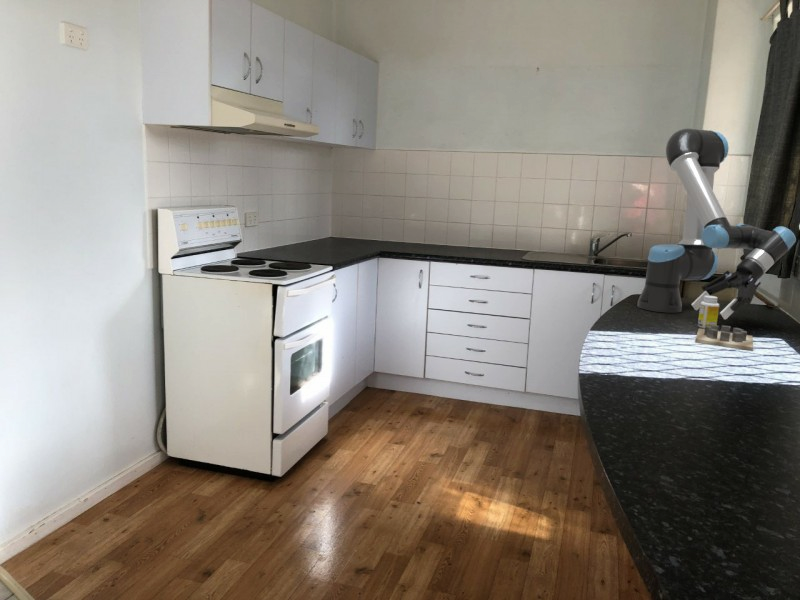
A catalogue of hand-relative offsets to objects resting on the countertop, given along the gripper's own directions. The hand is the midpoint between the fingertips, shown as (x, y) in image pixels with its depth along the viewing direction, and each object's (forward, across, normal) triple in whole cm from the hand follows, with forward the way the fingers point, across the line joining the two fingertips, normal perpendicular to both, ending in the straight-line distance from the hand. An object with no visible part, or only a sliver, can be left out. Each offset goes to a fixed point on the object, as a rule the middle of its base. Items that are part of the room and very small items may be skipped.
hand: (707, 311), depth 214 cm
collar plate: (+8, -16, 0) cm, 18 cm away
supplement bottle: (+3, +1, -5) cm, 6 cm away
